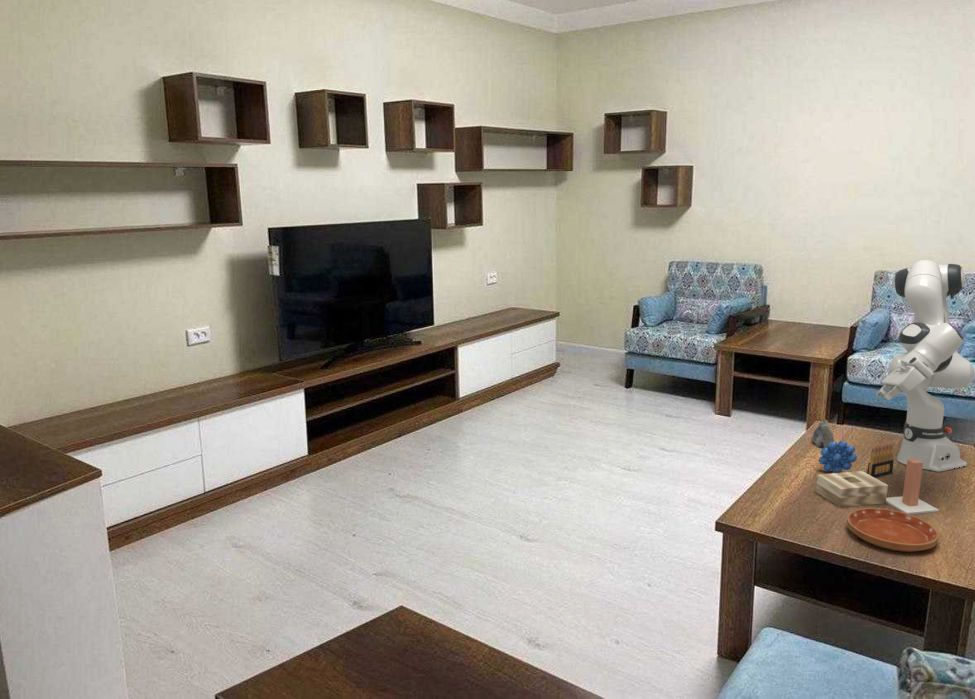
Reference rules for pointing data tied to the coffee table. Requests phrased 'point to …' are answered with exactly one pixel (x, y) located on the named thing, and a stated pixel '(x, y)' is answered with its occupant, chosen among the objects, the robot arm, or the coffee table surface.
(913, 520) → the saucer
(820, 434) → the mineral rock
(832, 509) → the coffee table surface
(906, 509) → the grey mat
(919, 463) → the wooden block
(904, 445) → the robot arm
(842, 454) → the grapes
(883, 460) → the ammunition clip
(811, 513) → the coffee table surface
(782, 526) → the coffee table surface
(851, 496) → the cream block with hole
